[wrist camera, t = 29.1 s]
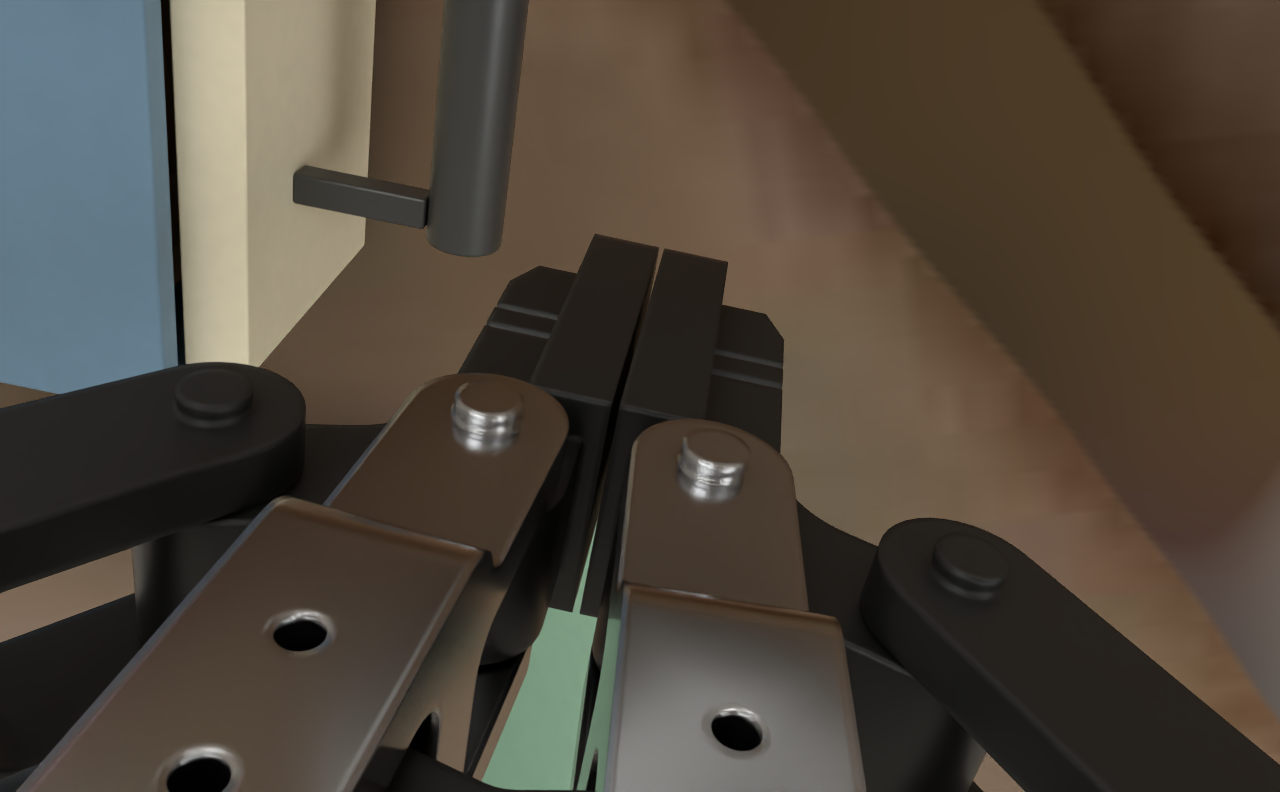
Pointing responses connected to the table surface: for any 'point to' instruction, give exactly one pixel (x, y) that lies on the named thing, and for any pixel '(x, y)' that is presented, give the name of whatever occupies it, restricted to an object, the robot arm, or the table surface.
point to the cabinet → (84, 196)
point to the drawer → (315, 154)
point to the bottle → (547, 705)
